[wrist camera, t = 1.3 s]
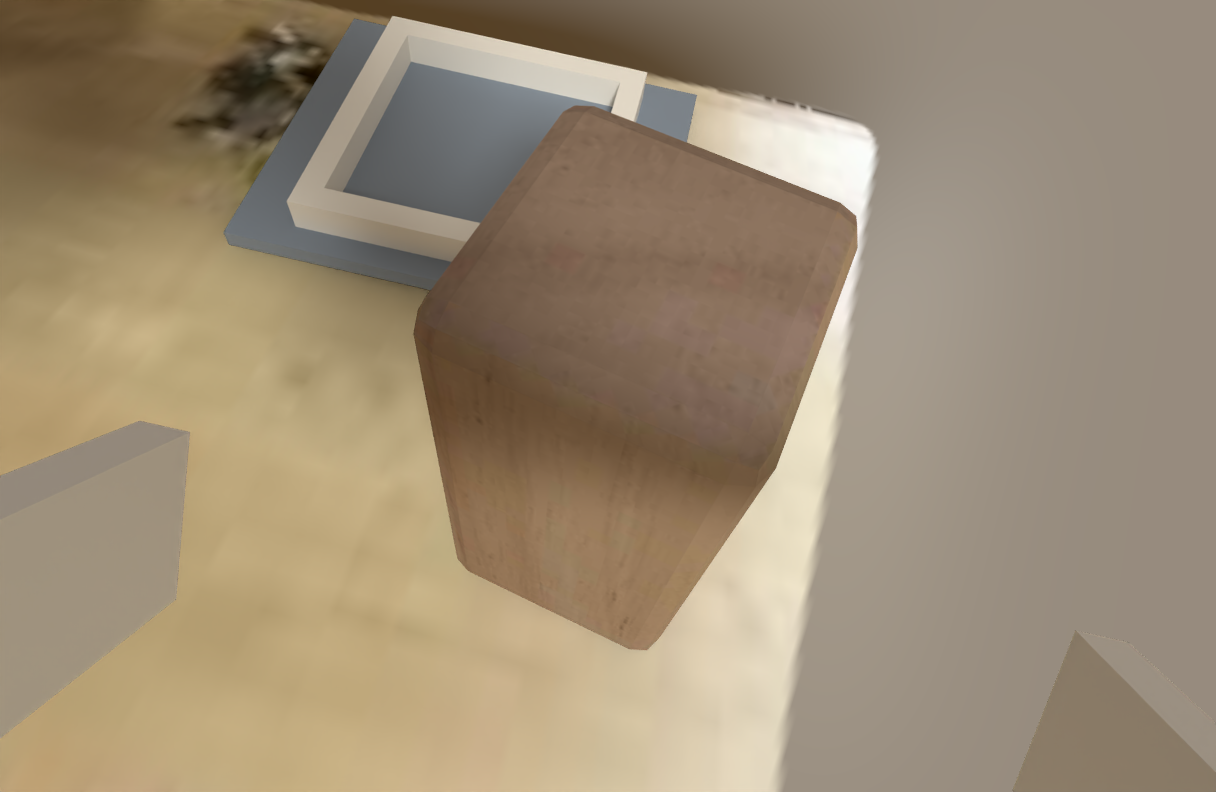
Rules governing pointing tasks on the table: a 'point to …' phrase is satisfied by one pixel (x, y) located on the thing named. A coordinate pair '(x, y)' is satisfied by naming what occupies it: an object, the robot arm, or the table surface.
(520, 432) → the block
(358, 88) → the grey square frame tray
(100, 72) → the table surface
